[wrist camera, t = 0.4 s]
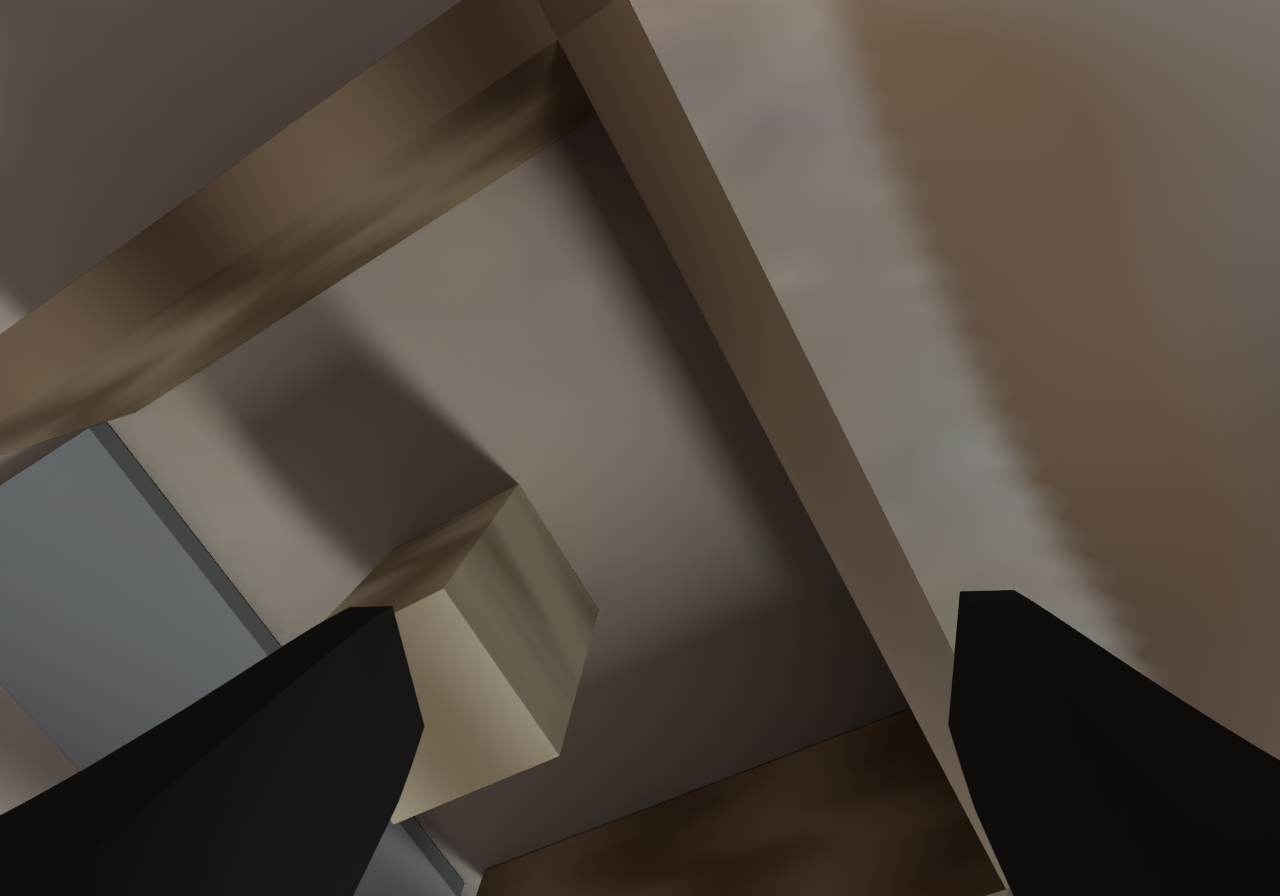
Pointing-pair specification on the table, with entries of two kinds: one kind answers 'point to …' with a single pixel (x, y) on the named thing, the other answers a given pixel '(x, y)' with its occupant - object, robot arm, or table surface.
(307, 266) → the wooden u-shaped frame
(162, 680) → the mat
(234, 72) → the table surface
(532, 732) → the block
